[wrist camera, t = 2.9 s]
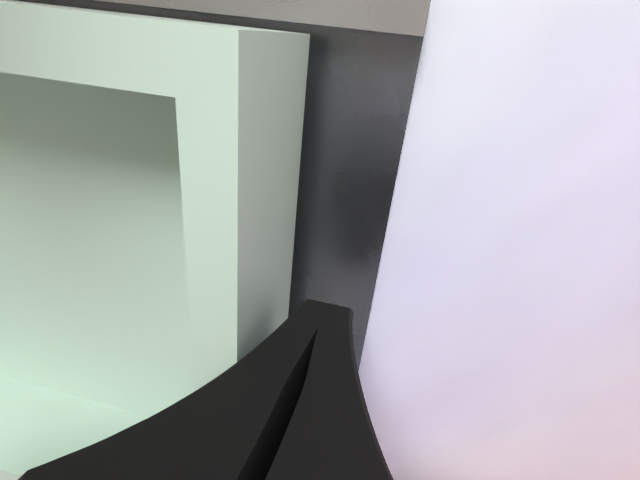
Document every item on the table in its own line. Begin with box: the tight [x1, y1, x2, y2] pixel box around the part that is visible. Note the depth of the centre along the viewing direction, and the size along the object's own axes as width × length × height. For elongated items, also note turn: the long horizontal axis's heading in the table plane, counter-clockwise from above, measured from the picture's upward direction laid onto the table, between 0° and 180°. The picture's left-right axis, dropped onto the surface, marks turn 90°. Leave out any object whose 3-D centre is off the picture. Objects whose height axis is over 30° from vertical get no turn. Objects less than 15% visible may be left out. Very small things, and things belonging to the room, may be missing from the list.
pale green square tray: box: [0, 0, 310, 480], centre depth 12 cm, size 14×14×5 cm
